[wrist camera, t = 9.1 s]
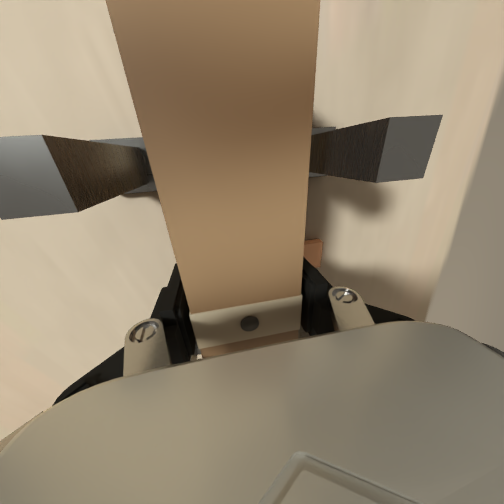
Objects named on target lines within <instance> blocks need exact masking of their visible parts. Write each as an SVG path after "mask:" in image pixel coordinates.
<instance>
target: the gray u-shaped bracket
mask: <svg viewBox="0 0 504 504" xmlns="http://www.w3.org/2000/svg"><path fill="white" fill-rule="evenodd" d="M442 116H443V115H430V116H410V117H390V118H386V119H381V120H377V121H372V122H368V123H363V124H359V125H354V126H350V127H345V128H341V129H336V127H324V128H312V133H311V148H310V163H309V177H315V176H326V175H330V176H337V177H343V178H349V179H356V180H362V181H368V182H375V183H378V182H388V181H398V180H408V179H419V178H423V177H424V173H425V170H426V167H427V164H428V161H429V157H430V154H431V151H432V148H433V145H434V142H435V138H436V135H437V132H438V129H439V126H440V122H441V119H442ZM335 129H336V130H335ZM148 191H157V188H156V184H155V181H154V177H153V173H152V170H151V166H150V162H149V158H148V155H147V151H146V147H145V144H144V140H143V137H142V138H123V139H105V140H89V141H85V140H77V139H69V138H61V137H54V136H46V135H30V136H10V137H0V218H1V219H2V220H3V219H13V218H23V217H34V216H44V215H54V214H64V213H74V212H80V211H82V210H85V209H87V208H89V207H92V206H94V205H97V204H99V203H102V202H104V201H107V200H109V199H112V198H114V197H116V196H119V195H121V194H126V193H137V192H148Z"/></svg>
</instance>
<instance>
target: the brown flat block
mask: <svg viewBox="0 0 504 504" xmlns="http://www.w3.org/2000/svg"><path fill="white" fill-rule="evenodd" d="M322 246H323V242H322V241H321V240H320V239H313V240H306V241H304V254H303V256H304V257H305V258H306V260H307V261H308V262H309V263H310V264H311V265H313V266H314V267H315V268H317V267H320V264H321V255H322Z"/></svg>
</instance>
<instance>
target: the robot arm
mask: <svg viewBox="0 0 504 504" xmlns="http://www.w3.org/2000/svg"><path fill="white" fill-rule="evenodd" d="M301 294H302V308H301V322H300V324H301V326H302V328H303V330H304V331H305V332H308V333H309V335H310V337H305V338H300V339H295V340H290V341H285V342H280V343H275V344H270V345H265V346H260V347H255V348H251V349H246V350H241V351H236V352H231V353H226V354H222V355H217V356H212V357H207V358H203V359H198V360H193V361H190V359H191V355H194V354H195V344H196V338H195V334H194V331H193V327H192V323H191V320H190V316H189V314H190V310H189V306H188V302H187V299H186V295H185V291H184V288H183V284H182V280H181V276H180V273H179V269H178V265H177V263H176V264H175V266H174V269H173V272H172V275H171V278H170V281H169V283H168V286H167V287H163V288H162V289H161V292H160V294H159V297H158V299H157V302H156V305H155V307H154V310H153V312H152V315H151V318H150V319H146V320H143V321H141V322H139V323H137V324H136V325H134V326H133V327H132V328H131V329H130V330H129V331H128V332H127V334H126V336H125V345H124V347H123V348H122V349H120V350H119V351H117V352H116V353H115V354H113V355H112V356H110V357H109V358H108V359H106V360H105V361H104V362H102V363H101V364H99V365H98V366H97V367H95V368H94V369H93V370H91V371H90V372H88V373H87V374H86V375H84V376H83V377H81V378H80V379H79V380H77V381H76V382H75V383H73V384H72V385H70V386H69V387H68V388H67V389H66V390H64V391H63V392H62V394H61V395H60V396H59V397H58V398H57V399H56V401H55V402H54V404H53V406H52V407H50V408H49V409H47V410H46V411H44V412H43V411H42V412H41V413H40V414H38V415H37V416H35V417H34V418H32V419H31V420H30V421H28V422H27V423H25V424H24V425H22V426H21V427H20V428H18V429H17V430H15V431H14V432H12V433H11V434H10V435H8V436H7V437H5V438H4V439H3V440H1V441H0V504H504V352H502V351H500V350H499V349H497V348H494V347H492V346H489V345H487V344H484V343H480V342H478V341H477V340H475V339H473V338H472V337H470V336H468V335H466V334H464V333H462V332H461V331H459V330H456V329H454V328H451V327H448V326H444V325H441V324H435V323H429V322H421V321H415V320H413V319H411V318H409V317H406V316H403V315H400V314H397V313H393V312H390V311H387V310H384V309H381V308H377V307H374V306H371V305H368V304H365V303H364V302H363V300H362V298H361V296H360V295H359V293H357V292H356V291H355V290H353V289H351V288H348V287H343V286H336V287H332V286H331V284H330V283H329V282H328V281H327V280H326V279H325V278H324V277H323V276H322V275H321V274H320V273H319V271H318V270H317V269H316V268H315V267H314V266H313V265H311V264H310V263H309V262H308V261H307V260H306V258H305V257H304V256H303V269H302V284H301Z"/></svg>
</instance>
